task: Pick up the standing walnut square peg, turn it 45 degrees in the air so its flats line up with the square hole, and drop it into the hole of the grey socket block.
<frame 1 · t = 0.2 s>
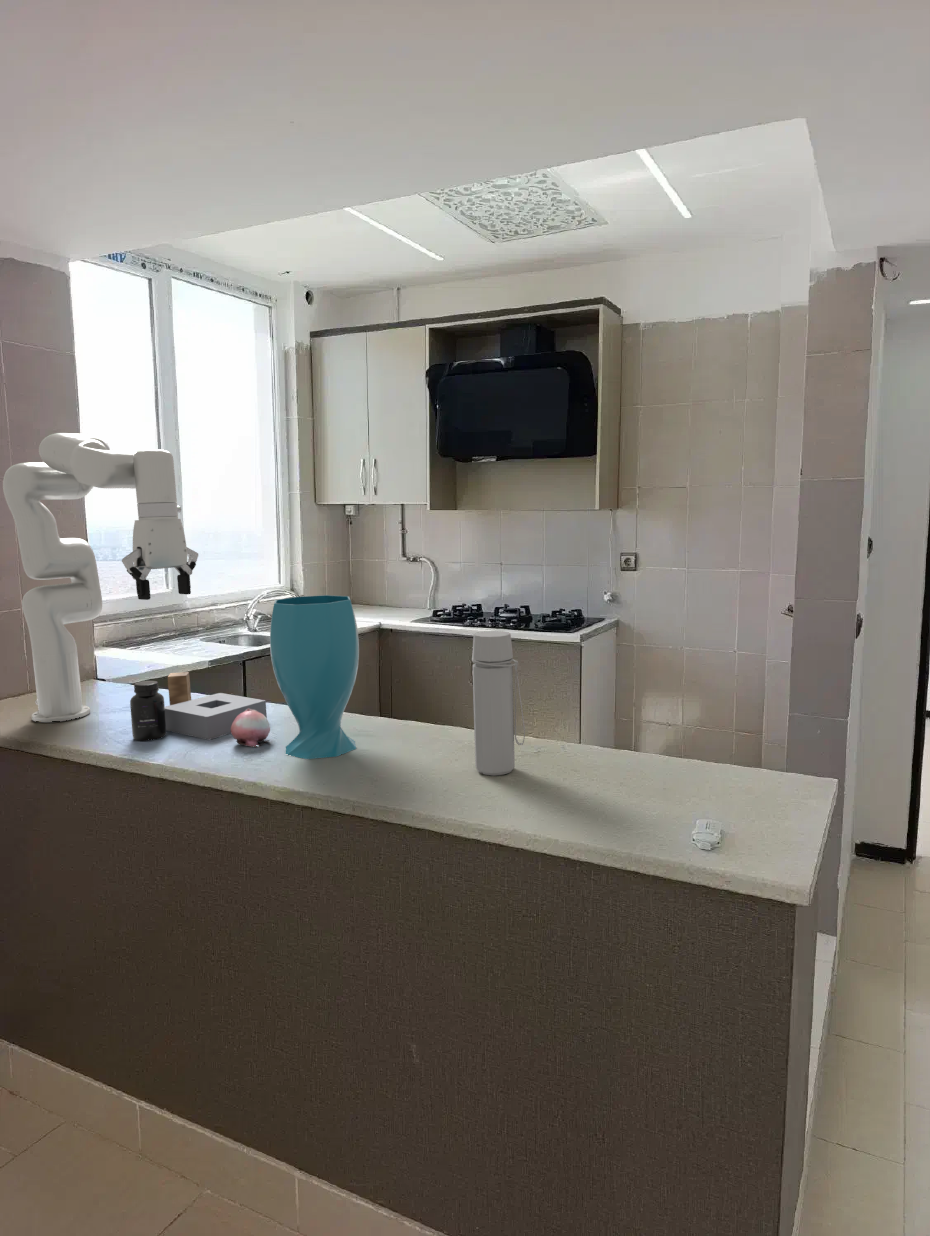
hand: (165, 596, 164), 31 cm above the counter, tool pointing down, fingers open, 9 cm apart
supplement bottle: (150, 738, 173), on the counter
vase: (320, 748, 162), on the counter
pink round piece: (251, 744, 167), on the counter
water bottle: (500, 771, 145), on the counter
socket block: (215, 725, 181), on the counter
peg: (181, 715, 191), on the counter
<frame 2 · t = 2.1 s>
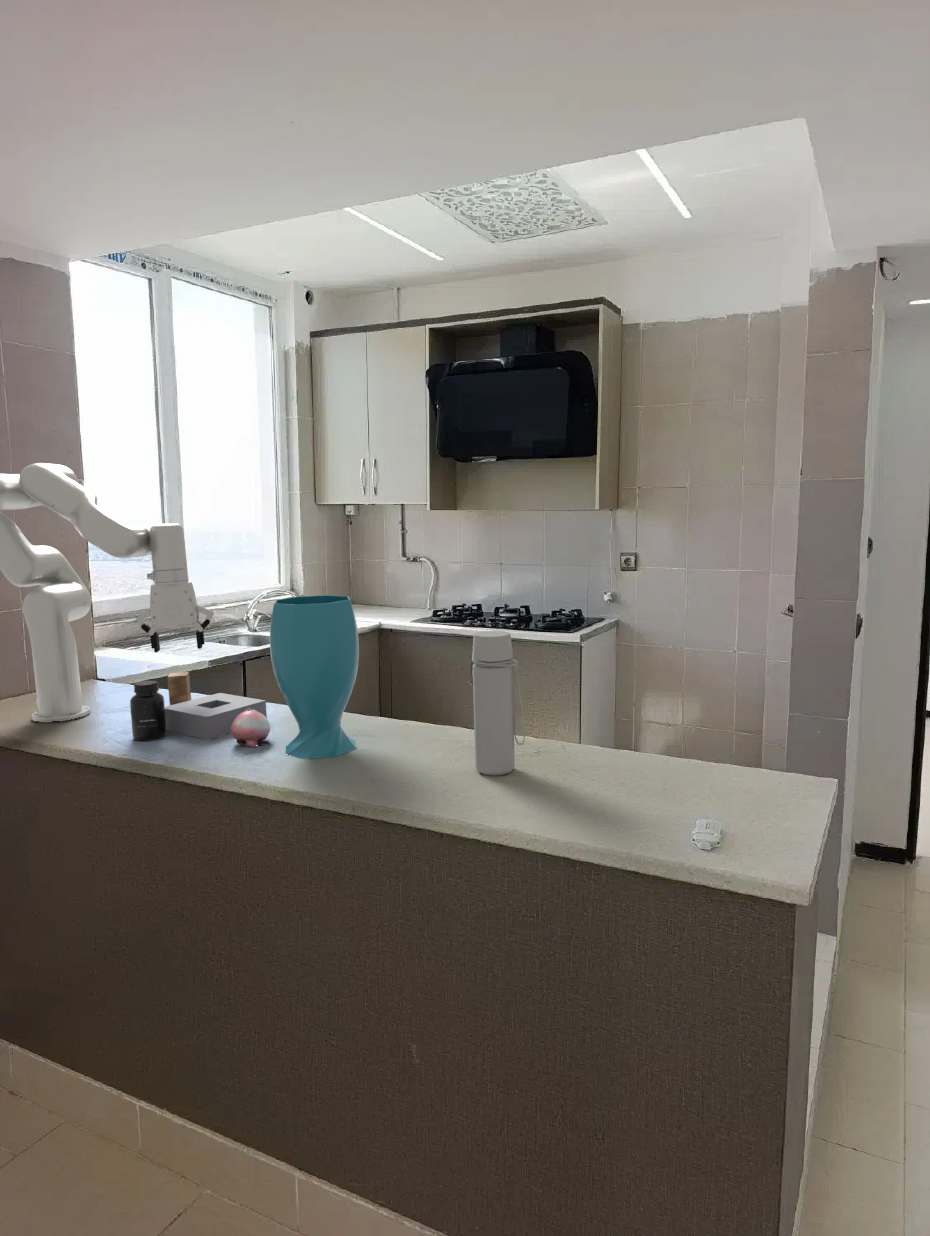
hand: (178, 649, 189), 16 cm above the counter, tool pointing down, fingers open, 9 cm apart
nothing on the counter moved.
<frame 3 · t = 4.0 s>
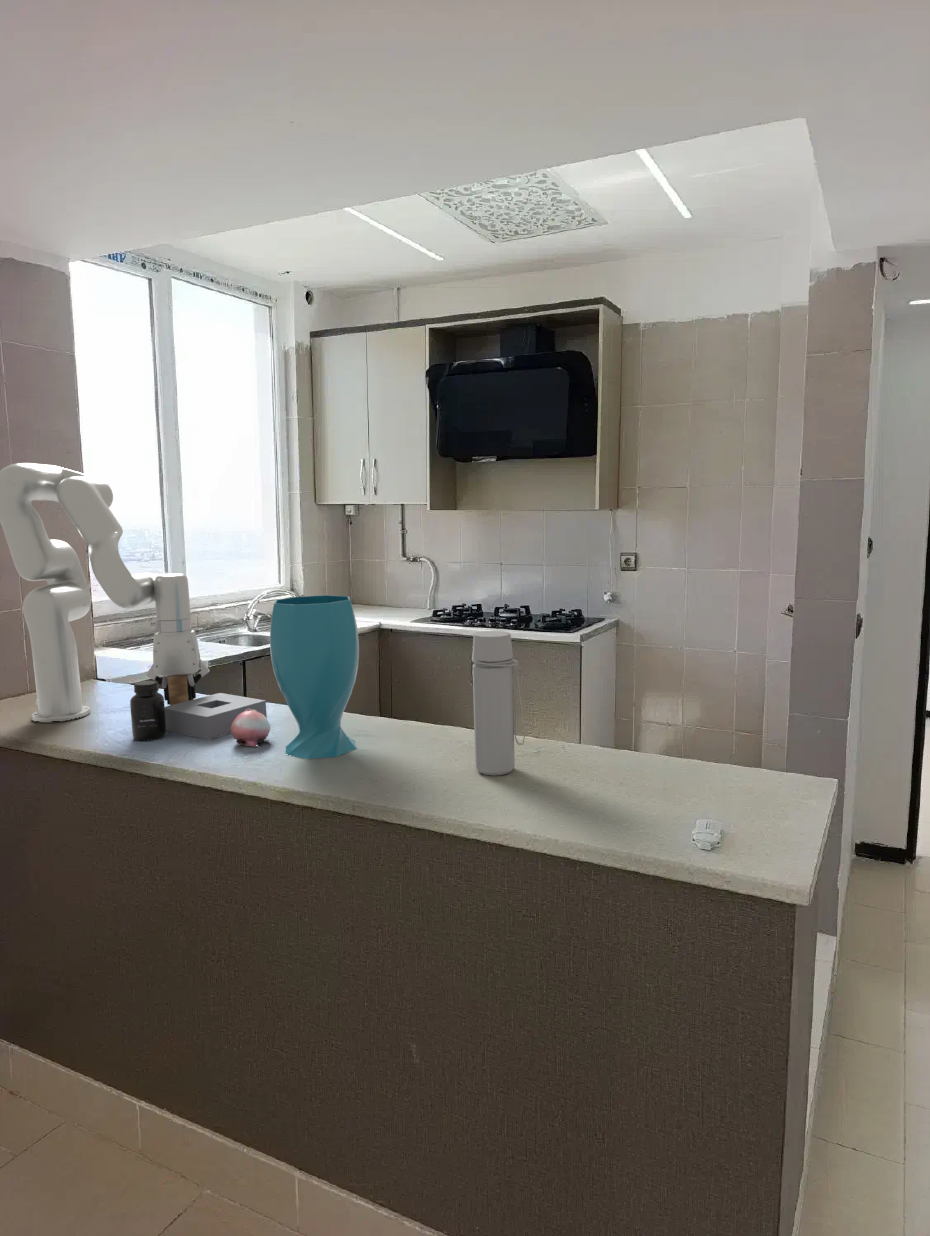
hand: (180, 701, 191), 3 cm above the counter, tool pointing down, fingers closed on peg, 4 cm apart
peg: (181, 715, 191), on the counter, touching gripper
everything else where it was.
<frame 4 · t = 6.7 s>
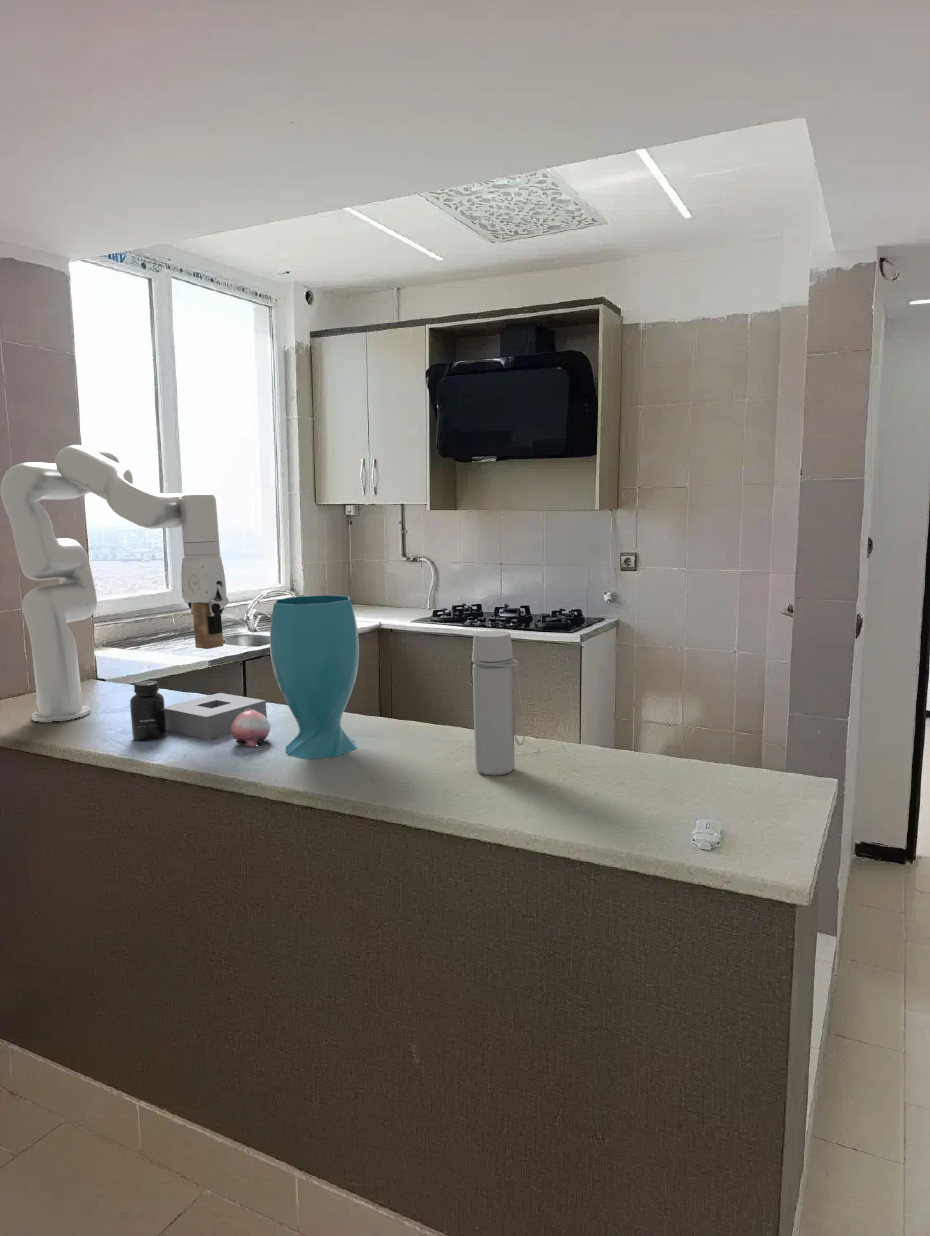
hand: (208, 632, 178), 21 cm above the counter, tool pointing down, fingers closed on peg, 4 cm apart
peg: (209, 646, 178), point 18 cm above the counter, touching gripper
everything else where it was.
when the fingers open (6 cm above the counter, at t = 9.7 s): peg drops 3 cm, resting in socket block.
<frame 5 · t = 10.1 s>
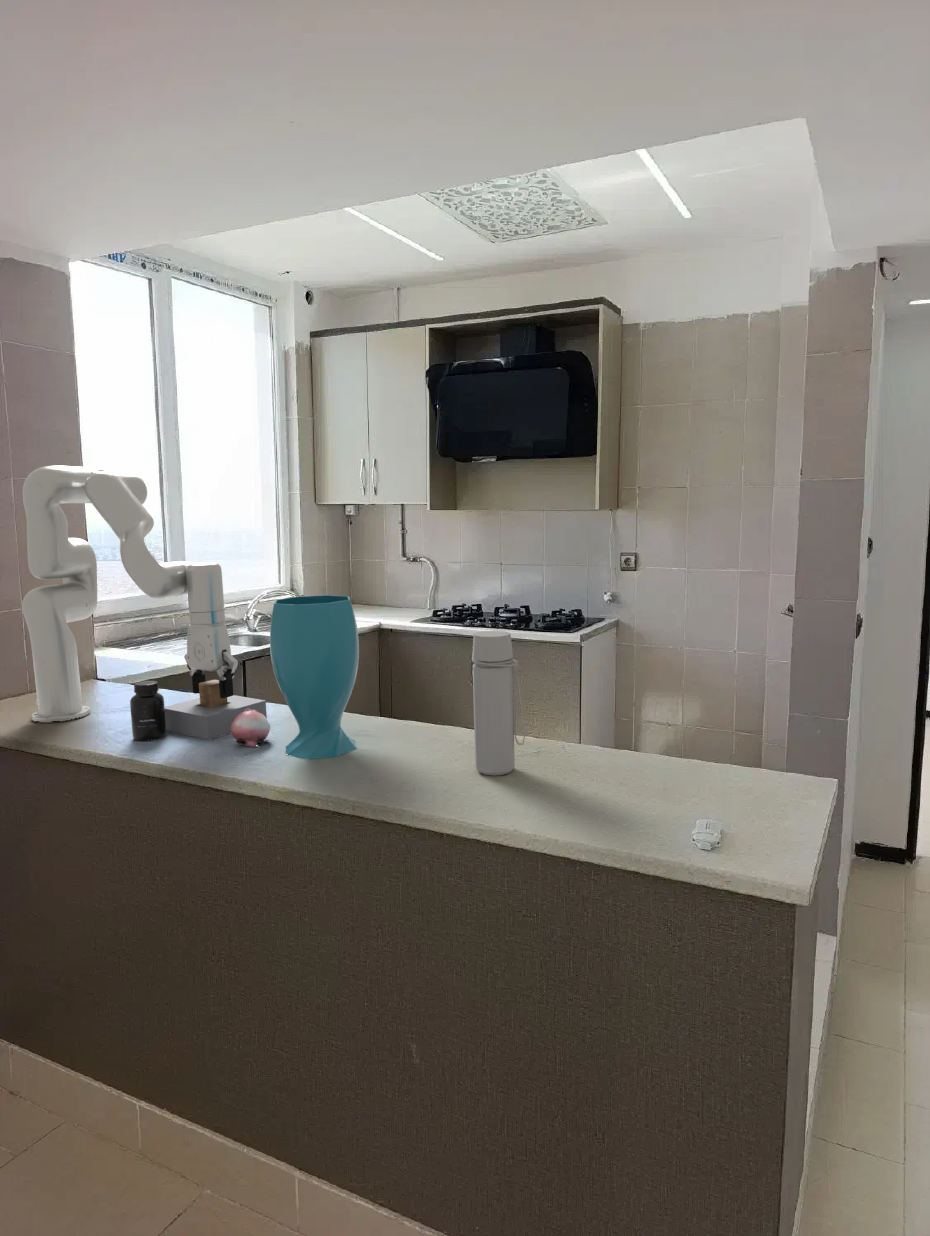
hand: (213, 694, 180), 7 cm above the counter, tool pointing down, fingers open, 9 cm apart
peg: (215, 725, 181), resting in socket block
everything else where it was.
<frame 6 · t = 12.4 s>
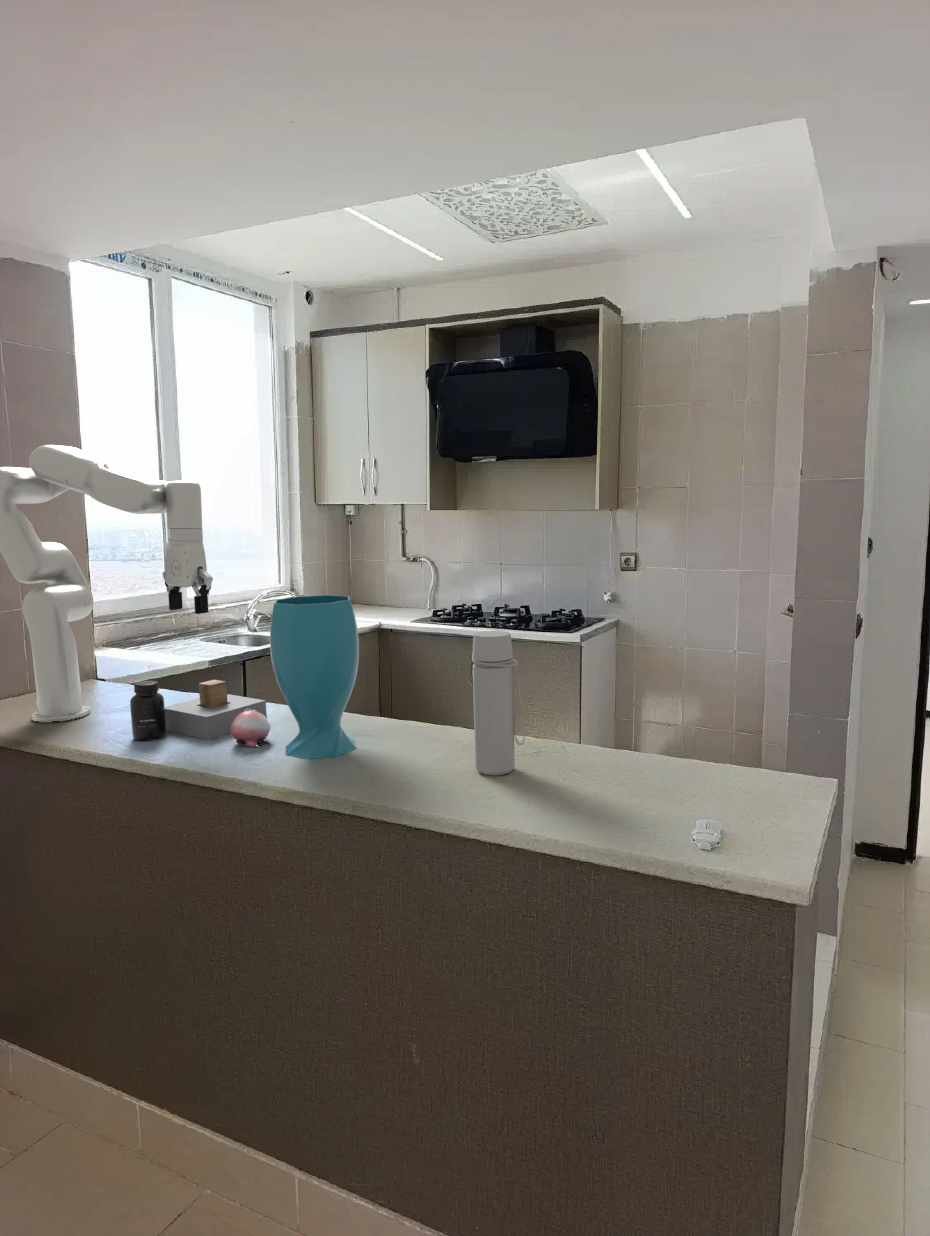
hand: (188, 611, 184), 25 cm above the counter, tool pointing down, fingers open, 9 cm apart
nothing on the counter moved.
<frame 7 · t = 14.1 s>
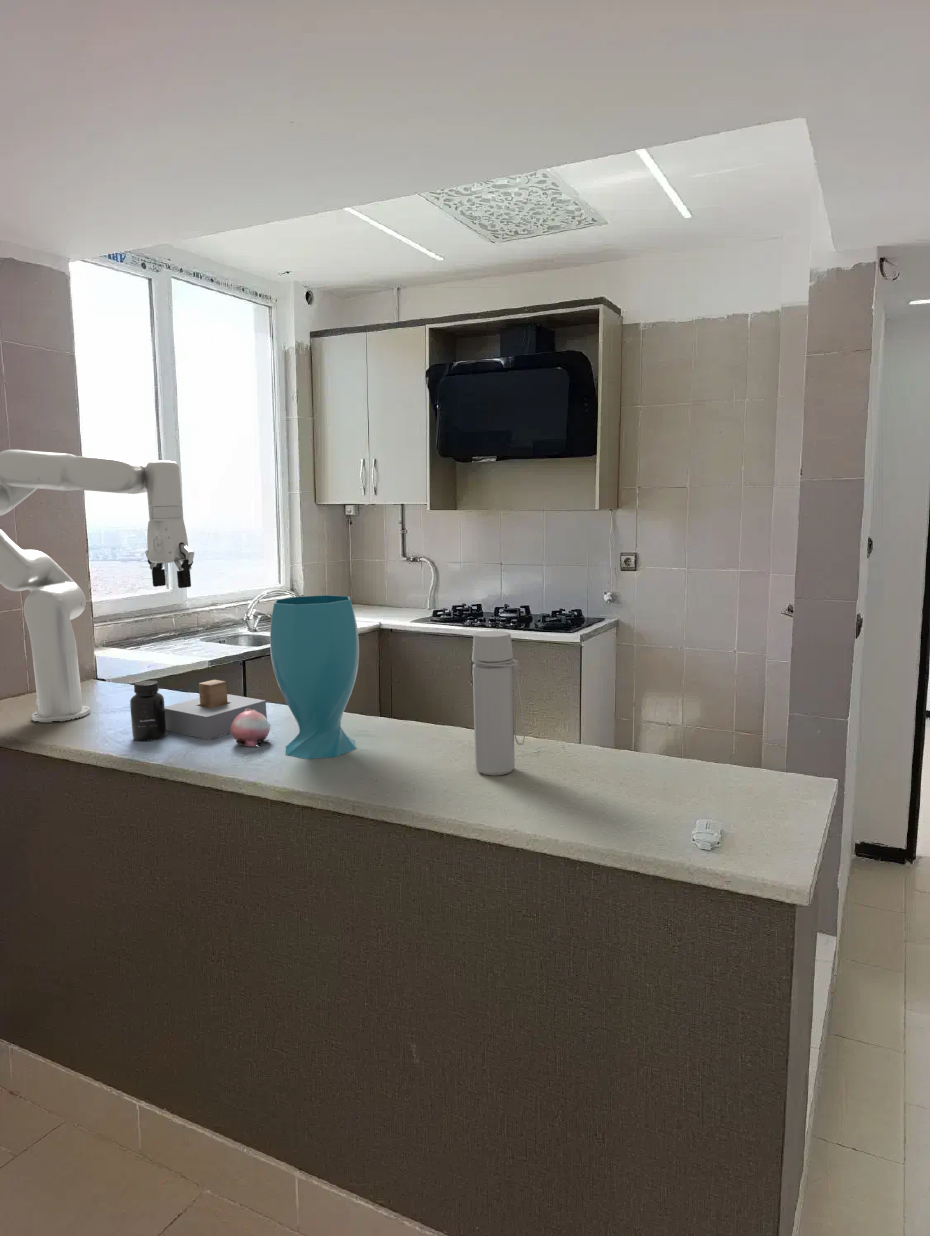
hand: (172, 586, 191), 30 cm above the counter, tool pointing down, fingers open, 9 cm apart
nothing on the counter moved.
at the end: peg 0.0 cm off-centre on the socket block, point 0.0 cm above the socket block's base; peg tilted 0°; the gripper is holding nothing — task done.
